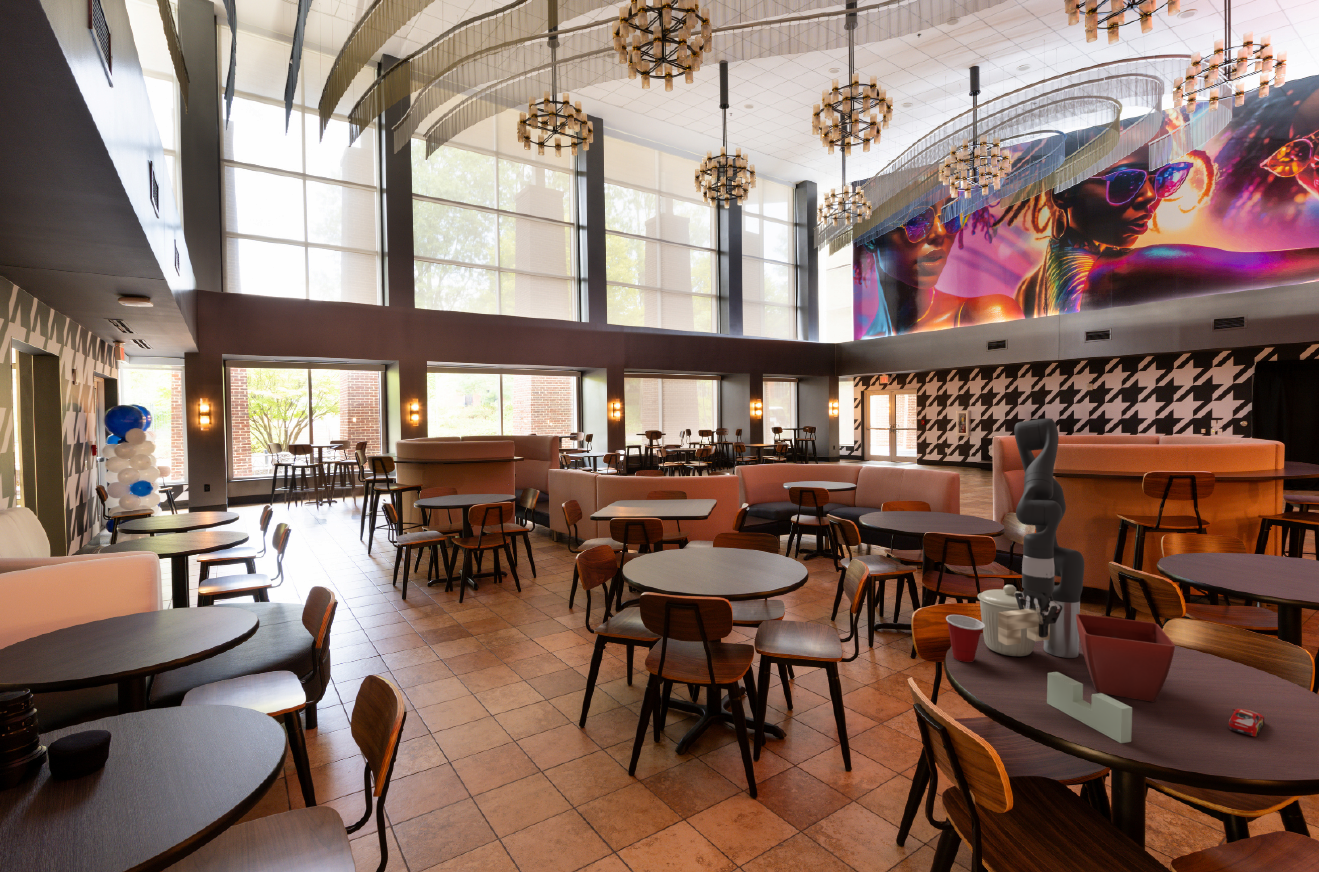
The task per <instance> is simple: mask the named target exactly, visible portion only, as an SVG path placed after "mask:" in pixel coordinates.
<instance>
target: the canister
mask: <svg viewBox="0 0 1319 872" xmlns="http://www.w3.org/2000/svg"><path fill="white" fill-rule="evenodd" d="M1019 592H1020V591H1018V590H1017V587H1015V586H1014V585H1013V584H1006V585H1004V586H1003V588H1000V589H987V590H984V591H983V592H980V593H978V594H977V600H979V605H980V606H979V608H980V616H981V622H983V623H984V624H985V627H984V629H982V633H983V641H984V643H985V645H986V646H987V648H989V649H990V650H991V651H993V652H995V653H997V654H1001V655H1003V656H1009V657H1025V656H1026V657H1027V656H1029V655H1031V653H1032V652H1033V651H1034V649H1035V644H1036V641H1034V640H1032V639H1029V638H1027V628H1023V629H1021V643H1020V644H1013V645H1005V644H1003V643H1001V642H999V641H998V612H1005V611H1014V610H1019V606H1018V603H1017V600H1016V597H1015V593H1019ZM1023 607H1024V605H1023ZM1024 609H1025V607H1024Z"/></svg>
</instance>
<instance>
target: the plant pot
mask: <svg viewBox="0 0 1319 872" xmlns="http://www.w3.org/2000/svg"><path fill="white" fill-rule="evenodd" d="M1076 621H1077V628H1078V633H1079V643H1080V646H1081V651H1082V654H1083V657H1084V661H1085V664H1086V668H1087V671H1088V673H1089V677H1090V681H1091V682H1092V684H1093V687H1094V690H1095V691H1096V692H1097V693H1103V694H1105V695H1108V696H1109V695H1110V696H1116V697H1121V698H1127V699H1134V700H1140V701H1146V702H1150V703H1151V702H1155V701H1157V699H1158V697H1159V695H1160V693H1161V691H1162V689H1163V687H1164V685H1165V683H1166V681H1167V678H1168V675H1169V672H1170V669H1171V665H1172V662H1173V658H1174V654H1175V649H1176V645H1175V643H1174V642H1173V641H1172V640H1171V638H1170V637H1169V636H1168V635H1167V634H1166V632H1165V631H1164V630H1163V629H1162V627H1161V626H1160V625H1159V624H1158V623H1155V622H1150V621H1141V620H1140V621H1139V620H1133V619H1125V618H1116V617H1109V616H1101V615H1099V616H1098V615H1091V614H1083V613H1080V614H1076Z"/></svg>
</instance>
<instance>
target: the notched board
mask: <svg viewBox="0 0 1319 872" xmlns="http://www.w3.org/2000/svg"><path fill="white" fill-rule="evenodd" d="M1083 694H1084V684H1083V683H1082V682H1079V681H1078V680H1075V679H1073V678H1071V677H1069V676H1066V675H1065V674H1063V673H1061V672H1059V671H1053V672H1047V687H1046V704H1047V705H1049V706H1052V707H1053V708H1055V709H1057V710H1059V711H1060V712H1062V713H1064V714H1066V715H1068V716H1070V717H1072V718H1073V719H1075V720H1077V721H1079V722H1081V723H1083V724H1084V725H1086V726H1088V727H1090V728H1092V729H1094V730H1096V731H1097V732H1099V733H1100V734H1103V735H1105V736H1106V737H1109V738H1110V739H1112V740H1113V741H1116V742H1117V743H1119V744H1125V743H1131V742H1132V730H1133V728H1132V727H1133V707H1132V706H1129V705H1128V704H1125V702H1121V701H1119V700H1117V699H1115V698H1113V697H1111V696H1109V695H1108V694H1103V693H1099V692H1097V693H1092V694H1091V703H1089V702H1087V701H1086V700H1084V699H1083V697H1084V695H1083Z"/></svg>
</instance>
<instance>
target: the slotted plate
mask: <svg viewBox="0 0 1319 872" xmlns="http://www.w3.org/2000/svg"><path fill="white" fill-rule="evenodd" d="M1042 612H1045V610H1044V611H1042ZM1044 619H1045V615H1044ZM1039 624H1040V623H1039V616H1038V615H1037V612H1036V609H1034V608H1031V609H1022V610H1014V611H1005V612H998V641H999V642H1001V643H1003V644H1005V645H1013V644H1020V643H1021V629H1023V628H1027V638H1029V639H1032V640H1034V641H1035V642H1042V641H1043V642H1044V640H1049V638H1050V624H1049V626H1048V636H1047V637H1044V638H1041V637H1039Z"/></svg>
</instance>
